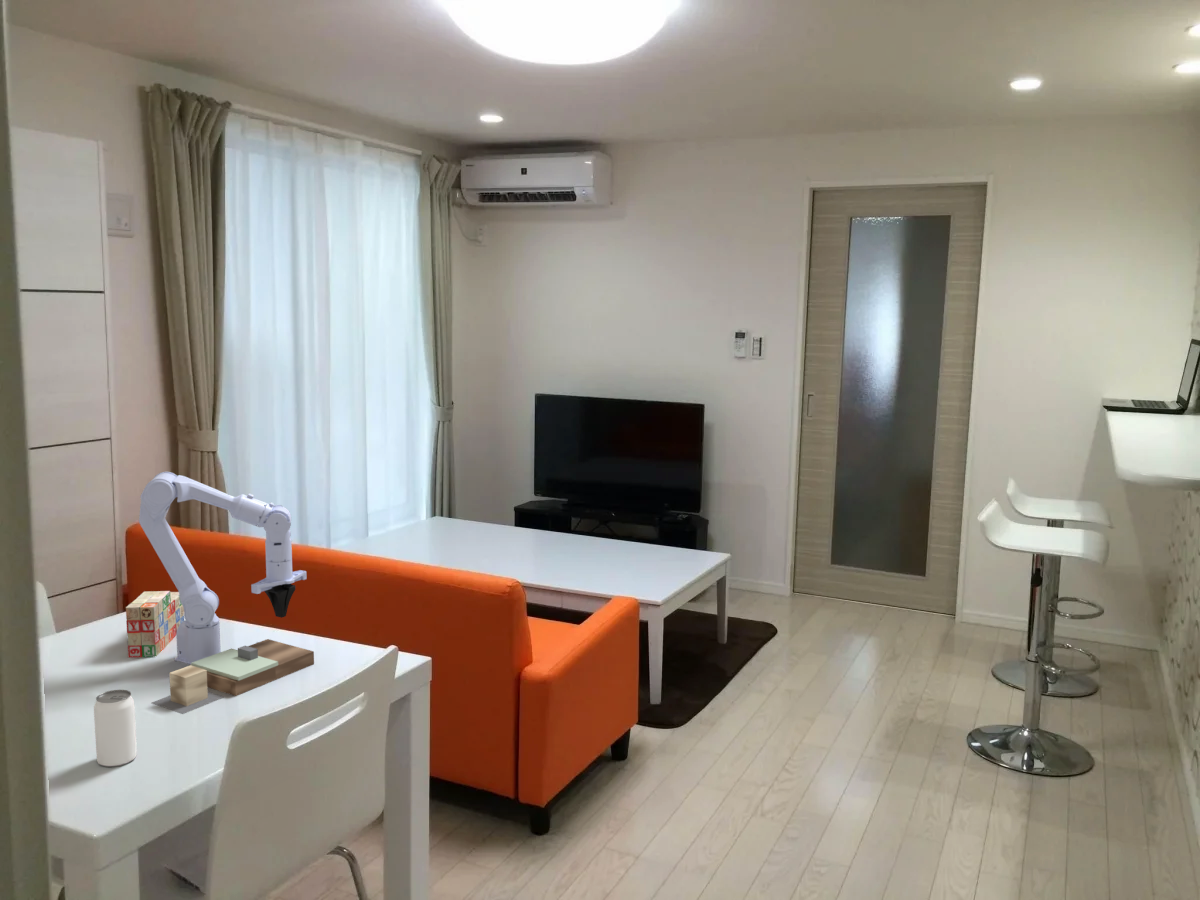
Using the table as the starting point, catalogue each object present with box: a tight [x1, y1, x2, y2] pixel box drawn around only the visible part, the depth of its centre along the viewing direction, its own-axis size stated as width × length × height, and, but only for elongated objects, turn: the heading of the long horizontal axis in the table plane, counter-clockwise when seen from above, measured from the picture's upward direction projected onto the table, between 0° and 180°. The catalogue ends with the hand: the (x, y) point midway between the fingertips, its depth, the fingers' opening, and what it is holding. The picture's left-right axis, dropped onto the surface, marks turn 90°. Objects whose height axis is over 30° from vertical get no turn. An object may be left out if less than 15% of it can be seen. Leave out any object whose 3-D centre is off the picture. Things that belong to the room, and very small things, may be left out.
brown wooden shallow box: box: [207, 638, 315, 697], centre depth 214 cm, size 15×22×4 cm
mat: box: [151, 691, 225, 715], centre depth 199 cm, size 10×10×1 cm
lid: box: [191, 645, 278, 681], centre depth 209 cm, size 15×10×3 cm
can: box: [93, 689, 138, 768], centre depth 173 cm, size 6×6×12 cm
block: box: [169, 664, 209, 706], centre depth 198 cm, size 5×5×6 cm
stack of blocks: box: [125, 590, 185, 658], centre depth 233 cm, size 21×6×12 cm, turn 7°
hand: (280, 616), depth 225 cm, fingers closed
